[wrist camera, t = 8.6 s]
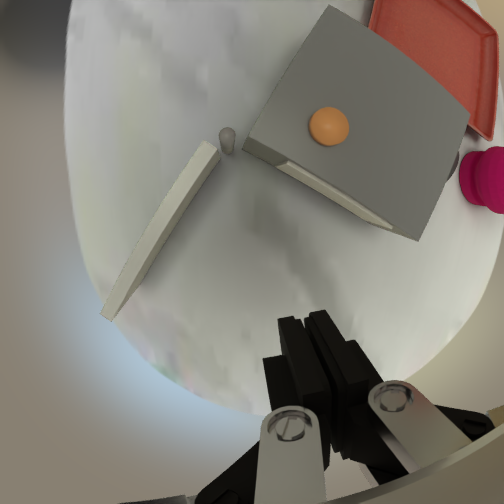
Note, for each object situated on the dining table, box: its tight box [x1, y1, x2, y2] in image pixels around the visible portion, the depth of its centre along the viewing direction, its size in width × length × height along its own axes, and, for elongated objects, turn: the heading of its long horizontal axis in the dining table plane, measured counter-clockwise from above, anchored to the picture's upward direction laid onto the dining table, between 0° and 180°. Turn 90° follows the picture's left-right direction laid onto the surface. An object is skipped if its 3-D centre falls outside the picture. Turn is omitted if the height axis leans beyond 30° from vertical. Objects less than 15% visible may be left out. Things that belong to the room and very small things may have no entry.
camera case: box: [242, 5, 471, 242], centre depth 21 cm, size 12×15×9 cm
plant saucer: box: [368, 0, 499, 141], centre depth 22 cm, size 18×18×3 cm
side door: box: [100, 127, 236, 322], centre depth 22 cm, size 2×15×8 cm, turn 145°
